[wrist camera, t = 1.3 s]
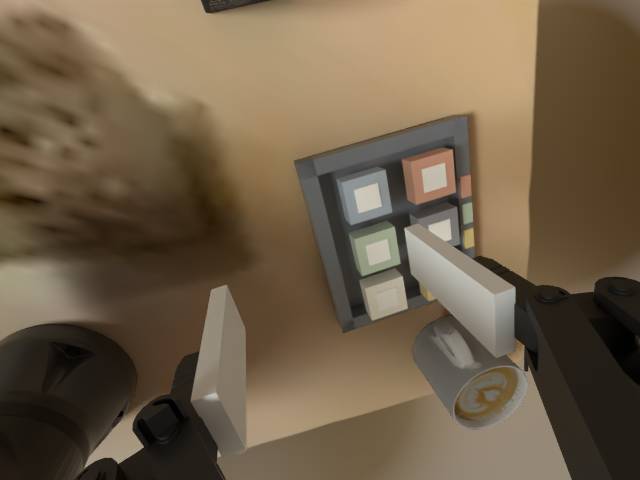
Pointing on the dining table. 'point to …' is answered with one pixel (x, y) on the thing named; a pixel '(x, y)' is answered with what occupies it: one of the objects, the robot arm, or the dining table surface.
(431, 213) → the key charcoal
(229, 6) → the box
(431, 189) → the key terracotta
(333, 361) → the dining table surface
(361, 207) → the key slate
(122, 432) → the dining table surface
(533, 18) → the dining table surface
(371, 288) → the key cream
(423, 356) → the coffee mug
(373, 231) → the key sage
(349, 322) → the keypad board
